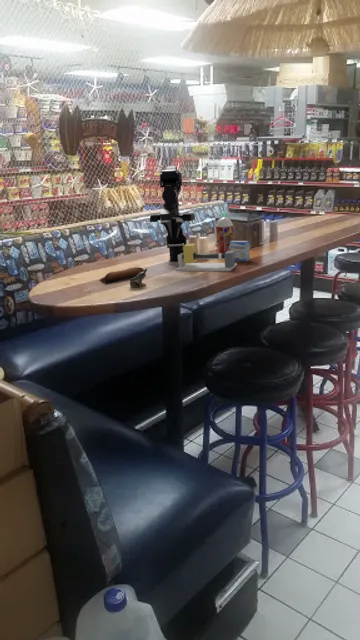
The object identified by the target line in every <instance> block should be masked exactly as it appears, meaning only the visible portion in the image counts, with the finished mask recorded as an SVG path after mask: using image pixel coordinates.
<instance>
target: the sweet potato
mask: <svg viewBox="0 0 360 640" xmlns="http://www.w3.org/2000/svg"><path fill="white" fill-rule="evenodd" d="M143 270H145V269H144V268H143V267H138V266H137V267H135V266H133V267H129V268H126V269H122V270H117V271H111V272H108V273H106V274H105V276H103V277H102V278H100V279H99V280H98V281H99V282H101V283H103V284H109V283H113V282H116V281H119V280H123V279H130V278H134V277H136V276H137V275H138V274H139V273H140V272H142V271H143Z"/></svg>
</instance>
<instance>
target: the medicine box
mask: <svg viewBox="0 0 360 640" xmlns="http://www.w3.org/2000/svg"><path fill="white" fill-rule="evenodd" d="M250 243H251V241H250V240H233V241H231V242H230V251H235V262H248V261H251V254H250V253H251V249H250V246H251V245H250Z"/></svg>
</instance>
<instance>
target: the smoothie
mask: <svg viewBox="0 0 360 640" xmlns="http://www.w3.org/2000/svg"><path fill="white" fill-rule="evenodd" d="M222 214H223V217H220V218H218V220H217V222H216V224H215V231H216V232H215V233H216V239H217V249H218V250H217V251H218V254H225V253H226V252H227V251H230V242H231V241H234V224H233V222H232V220H231V219H230V218H229V217H227V216H226V215H225V214H226V212H225V211H223V213H222ZM225 216H226V217H225Z"/></svg>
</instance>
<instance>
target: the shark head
mask: <svg viewBox="0 0 360 640" xmlns="http://www.w3.org/2000/svg"><path fill="white" fill-rule="evenodd" d="M147 271H148V268H145V269H144V270H143V271H142V272H140V273H139V274H138V275H137V276H135V277H130V278H129V285H130V288H141V287H146V286H147V284H146V283H143V280H144V279H145V278H146V276H147Z"/></svg>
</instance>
